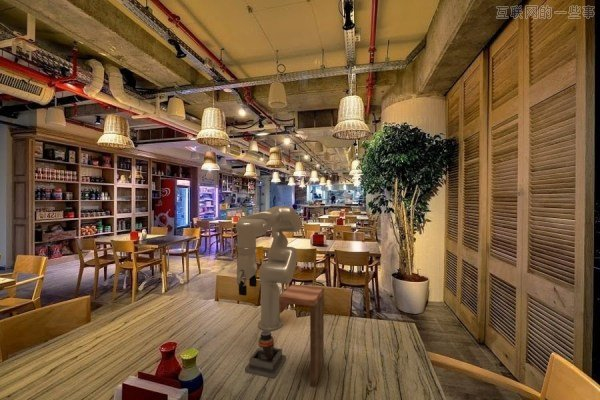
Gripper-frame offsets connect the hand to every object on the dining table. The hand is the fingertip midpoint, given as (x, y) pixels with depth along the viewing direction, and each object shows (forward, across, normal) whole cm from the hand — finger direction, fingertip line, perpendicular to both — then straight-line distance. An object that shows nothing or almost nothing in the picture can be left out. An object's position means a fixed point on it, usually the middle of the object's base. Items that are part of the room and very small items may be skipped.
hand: (248, 290), depth 115 cm
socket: (+25, +9, +11) cm, 29 cm away
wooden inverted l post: (+25, +8, +26) cm, 37 cm away
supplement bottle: (+24, +8, +11) cm, 28 cm away
